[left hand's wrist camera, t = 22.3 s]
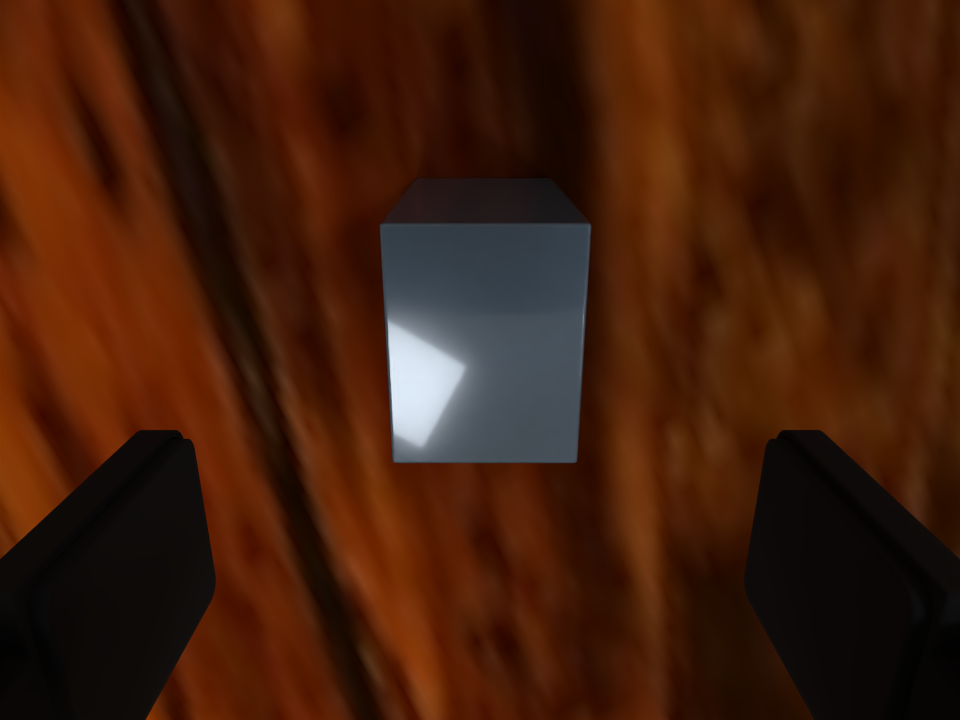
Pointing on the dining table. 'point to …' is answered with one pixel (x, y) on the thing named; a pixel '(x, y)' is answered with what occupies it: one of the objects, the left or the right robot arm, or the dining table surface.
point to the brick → (484, 320)
